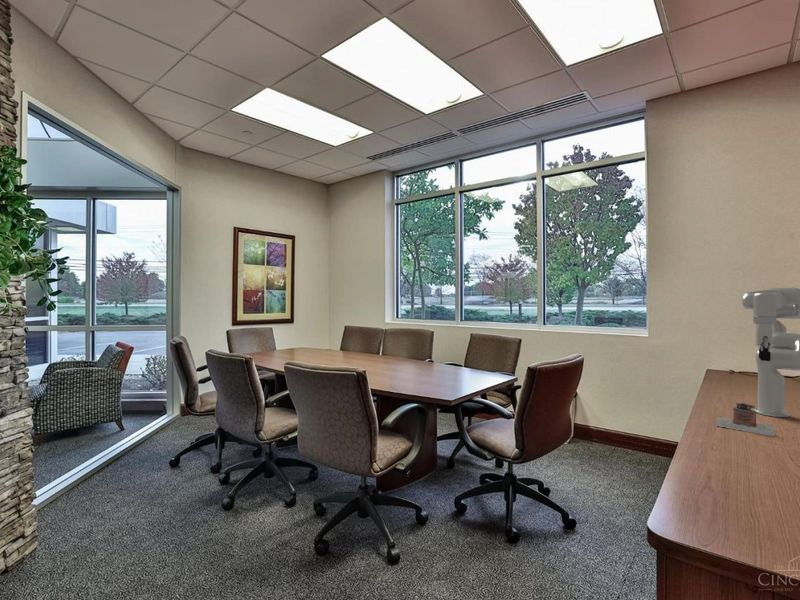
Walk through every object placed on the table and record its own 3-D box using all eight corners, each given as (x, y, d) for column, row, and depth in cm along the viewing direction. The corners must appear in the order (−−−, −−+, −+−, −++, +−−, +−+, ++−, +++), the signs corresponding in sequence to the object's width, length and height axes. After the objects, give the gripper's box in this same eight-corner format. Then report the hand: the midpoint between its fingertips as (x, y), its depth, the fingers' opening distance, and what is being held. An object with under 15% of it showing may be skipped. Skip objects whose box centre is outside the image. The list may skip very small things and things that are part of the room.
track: (717, 420, 178) (717, 416, 178) (771, 429, 167) (771, 424, 167) (716, 426, 169) (716, 422, 169) (774, 436, 157) (774, 431, 157)
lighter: (730, 424, 171) (731, 401, 171) (734, 423, 172) (735, 400, 172) (754, 430, 163) (754, 406, 164) (758, 429, 165) (758, 405, 165)
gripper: (752, 320, 184) (751, 356, 183) (754, 320, 170) (754, 360, 170) (774, 320, 179) (774, 358, 179) (778, 321, 165) (778, 362, 165)
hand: (764, 359), depth 174 cm, fingers open, 9 cm apart
